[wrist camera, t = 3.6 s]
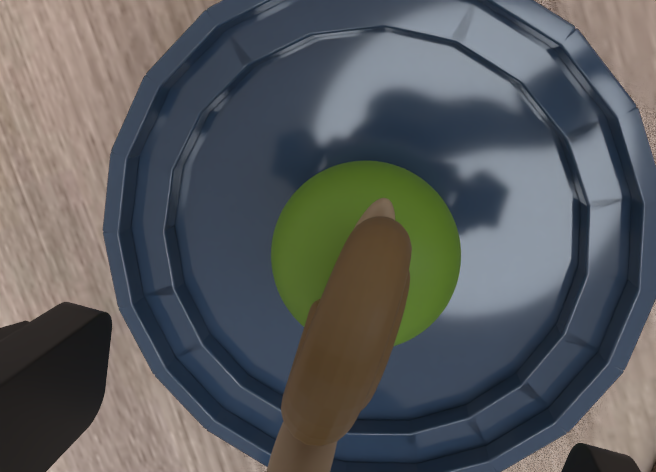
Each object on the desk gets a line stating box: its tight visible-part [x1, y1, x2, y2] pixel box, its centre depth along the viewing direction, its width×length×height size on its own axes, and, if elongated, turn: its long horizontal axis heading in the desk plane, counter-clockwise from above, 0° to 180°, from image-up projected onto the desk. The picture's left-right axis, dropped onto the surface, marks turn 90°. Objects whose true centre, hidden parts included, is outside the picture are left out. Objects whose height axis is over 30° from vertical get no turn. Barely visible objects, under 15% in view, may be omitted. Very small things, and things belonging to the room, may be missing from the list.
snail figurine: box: [267, 161, 461, 472], centre depth 13 cm, size 5×6×12 cm
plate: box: [103, 0, 656, 472], centre depth 18 cm, size 17×17×2 cm
